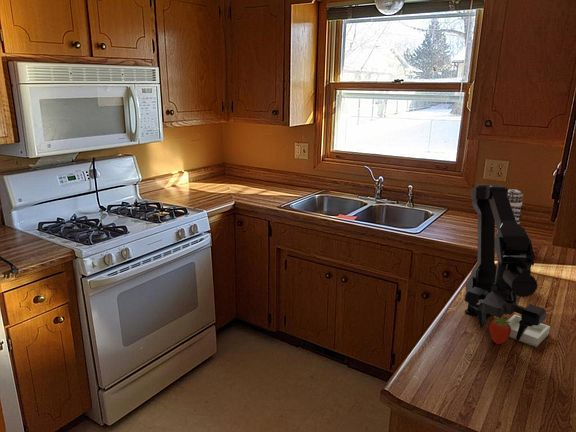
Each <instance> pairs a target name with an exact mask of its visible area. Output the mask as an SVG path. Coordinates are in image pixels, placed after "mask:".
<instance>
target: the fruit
mask: <svg viewBox="0 0 576 432" xmlns="http://www.w3.org/2000/svg"><path fill="white" fill-rule="evenodd" d="M492 318H493V319H492V320H491V321H490V323H489V326H488V330H489V333H490V336H491V339H492V341H493V342H494V343H495V344H496V345H502V344H503V343H504V342H506V341H507V339H508V338H510V337H509V335H510V333H511V327H510V325H509V324H508V323H510V322H506V321H507V320H508V319H509V318H508V317H506V316H505V317H495V316H493V317H492Z"/></svg>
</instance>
